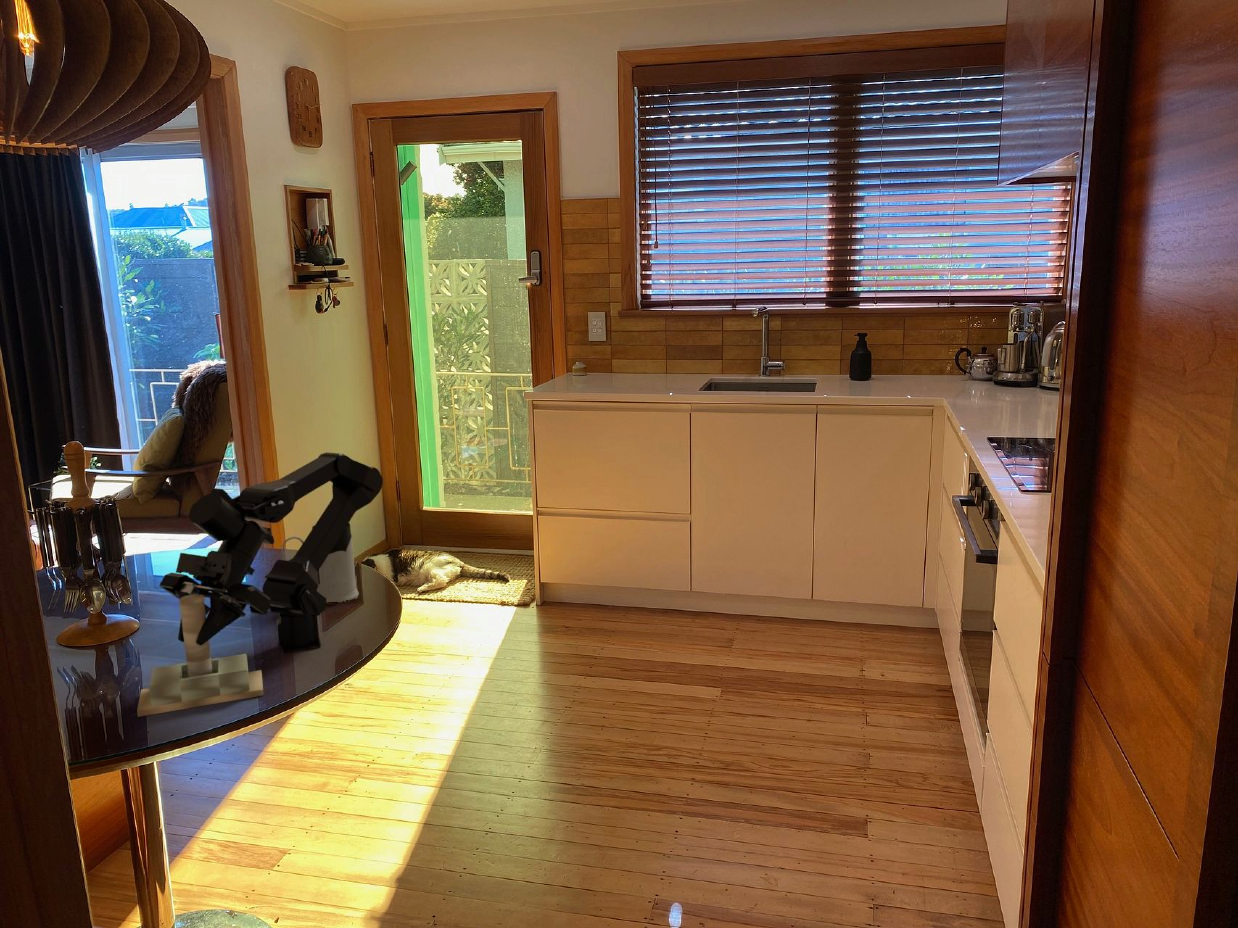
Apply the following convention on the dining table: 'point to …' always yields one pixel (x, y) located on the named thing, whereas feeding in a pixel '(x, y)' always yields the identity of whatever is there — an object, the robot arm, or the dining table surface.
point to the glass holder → (337, 570)
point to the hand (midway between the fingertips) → (189, 642)
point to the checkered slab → (199, 686)
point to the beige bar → (195, 635)
